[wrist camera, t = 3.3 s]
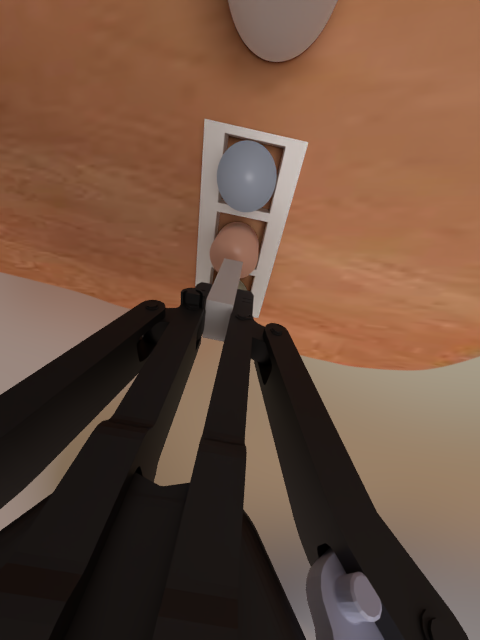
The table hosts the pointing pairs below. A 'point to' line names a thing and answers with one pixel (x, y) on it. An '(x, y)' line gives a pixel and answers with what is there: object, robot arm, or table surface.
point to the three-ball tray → (273, 216)
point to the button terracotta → (236, 247)
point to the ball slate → (246, 176)
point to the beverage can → (280, 25)
